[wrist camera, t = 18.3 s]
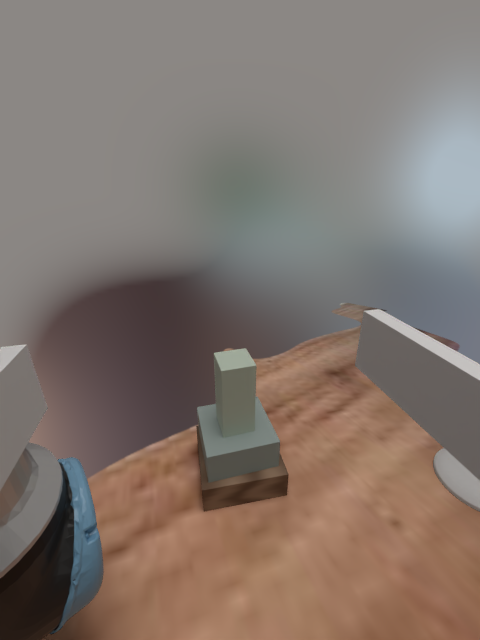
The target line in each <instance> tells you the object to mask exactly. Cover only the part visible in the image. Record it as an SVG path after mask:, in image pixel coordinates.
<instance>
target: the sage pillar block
mask: <svg viewBox="0 0 480 640" xmlns="http://www.w3.org/2000/svg"><path fill="white" fill-rule="evenodd" d="M214 368H215V392H216V416H217V419H218V422H219V425H220V429H221V432H222V435H223V438H225V437H229V436H234V435H238V434H243V433H248V432H252V431H255V398H256V364H255V362H254V361H253V359H252V358H251V356H250V354H249V353H248V351H247V350H246V348H245V349H238V350H231V351H224V352H217V353H214Z"/></svg>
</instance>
